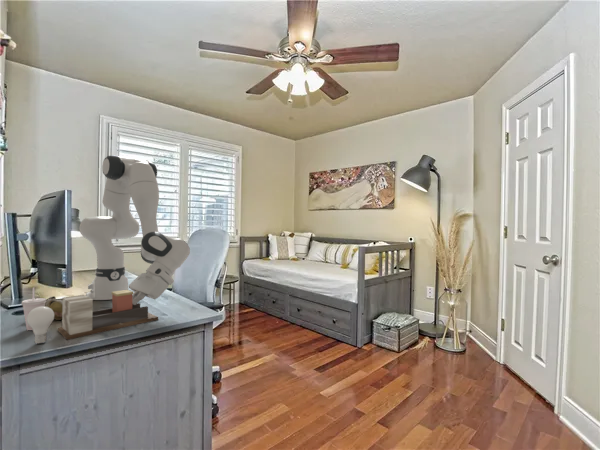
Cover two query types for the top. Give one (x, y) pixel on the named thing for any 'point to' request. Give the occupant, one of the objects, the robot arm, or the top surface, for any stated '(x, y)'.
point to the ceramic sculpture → (55, 306)
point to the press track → (97, 317)
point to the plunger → (121, 300)
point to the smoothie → (32, 306)
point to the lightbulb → (40, 322)
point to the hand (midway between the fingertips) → (131, 303)
